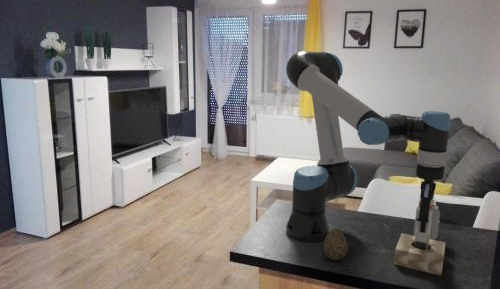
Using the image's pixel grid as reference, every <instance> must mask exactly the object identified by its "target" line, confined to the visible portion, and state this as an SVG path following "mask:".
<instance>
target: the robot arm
mask: <svg viewBox="0 0 500 289" xmlns="http://www.w3.org/2000/svg"><path fill="white" fill-rule="evenodd" d="M339 58H340V57H338V56H336V54H333V53H330V52H326V51H307V50H305V51H298V52H297V53H294V54H293V55H292V56H290V58H289V59H288V61H287V64H286V67H285V70H286V76H287V78H288V80H289V81H290V83H292V85H294V87H295V88H297V89H298V90H300V91H301V92H307V93H308V94H310V95H311V100H312V106H313V114H314V122H315V130H316V136H317V144H318V151H319V158H320V159H318V162H317V163H316V165H307V166H306V165H305V166H302V167H299V168H298V169H296V171H295V172H294V173H293V180H292V208H291V212H290V215H289V217H288V221H287V224H286V229H285V232H286V234H287V235H288V236H289V237H290V238H292V239H294V240H297V241H301V242H309V243H316V242H321V241H324V240H325V238H326V236H327V235H328V234H329V233H330V226H329V222H328V219H327V216H326V215H327V214H326V211H327V210H326V209H327V208H326V207H327V202H330V201H334V200H336V199H339V198H344V197H347V196H348V195H351V194H352V193H353V192H354V191H355V190H356V188H357V186H358V183H359V182H358V178H359V177H358V173H357V171H356V169H354V167H353V166H352V165H351V164H350V160H349V159H348V158H347V157H346V156H345V154H344V149H343V141H342V140H343V139H342V134H341V133H342V132H341V127H340V125H341V124H340V118H341V119H342V120H343V121H344V122H346V123H347V124H348V125H350V126H351V127H352V128H354V129H355V130H356V131H357V136H358V138H359V140H360V141H361V142H362V143H364V144H365V145H367V146H372V145H373V146H378V145H383V144H386V143H391V142H398V141H402V140H403V141H409V142H413V143H414V142H415V143H418V148H417V156H416V162H417V163H416V167H415V168H416V170H415V175H416V177H417V178H420V179H423V180H422V181H421V183H420V188H419V189H420V195H419V199H420V198H421V204H420V213H419V218H417V219H416V221H419V223H418V232H417V240H416V241H420V242H424V243H426V241H427V233H428V224H429V220H428V219H429V211H430V203H431V200H432V199H433V200H434V196H435V191H436V189H437V188H436V187H437V183H436V182H435V181H441V180H443V179H444V177H445V168H446V167H445V164H446V161H447V160H446V159H449V155H448V154H447V151H448V142H449V136H450V130H451V116H450V114H449V113H448V112H445V111H434V110H429V111H428V110H426V111H423V112H422V114H421V116H414V115H413V116H412V115H405V114H400V113H387V114H386V115H385V116H382V115H381V114H379V113H377V112H376V111H375V110H373V109H372V108H371V107H369V106H368V105H366V104H365V103H364V102H362V101H361V100H360V99H358V98H357V97H355V96H354V95H353V94H351V93H350V92H349V91H348V90H346V89H344V87H341V86H340V85H339V82H340V79H341V78H342V75H343V64H342V61H341V60H340V59H339ZM432 215H433V214H432Z"/></svg>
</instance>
